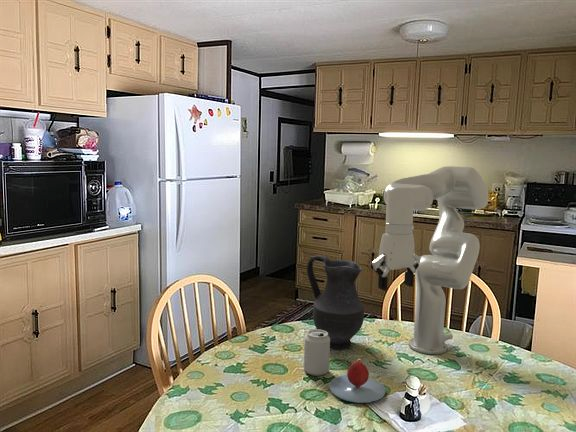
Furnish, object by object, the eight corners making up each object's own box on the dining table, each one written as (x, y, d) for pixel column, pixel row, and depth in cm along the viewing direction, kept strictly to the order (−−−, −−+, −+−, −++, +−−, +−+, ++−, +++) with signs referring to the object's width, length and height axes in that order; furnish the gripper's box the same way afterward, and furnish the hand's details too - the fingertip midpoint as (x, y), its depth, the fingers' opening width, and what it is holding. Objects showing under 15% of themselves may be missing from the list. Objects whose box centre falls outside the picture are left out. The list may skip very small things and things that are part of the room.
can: (327, 378, 138) (328, 338, 136) (301, 375, 139) (302, 335, 138) (330, 367, 145) (331, 329, 144) (305, 364, 147) (307, 326, 145)
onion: (355, 394, 127) (356, 365, 126) (342, 384, 132) (343, 357, 131) (372, 389, 130) (374, 361, 129) (359, 380, 135) (360, 353, 134)
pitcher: (349, 359, 151) (353, 266, 147) (293, 344, 162) (295, 257, 158) (370, 342, 166) (374, 257, 162) (317, 329, 176) (320, 249, 173)
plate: (362, 374, 141) (363, 370, 141) (396, 397, 128) (396, 393, 128) (319, 384, 134) (319, 380, 134) (350, 410, 121) (350, 406, 121)
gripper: (412, 225, 144) (409, 281, 147) (366, 229, 136) (363, 287, 139) (430, 229, 138) (427, 287, 140) (383, 233, 130) (380, 294, 132)
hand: (395, 287), depth 139 cm, fingers open, 9 cm apart
